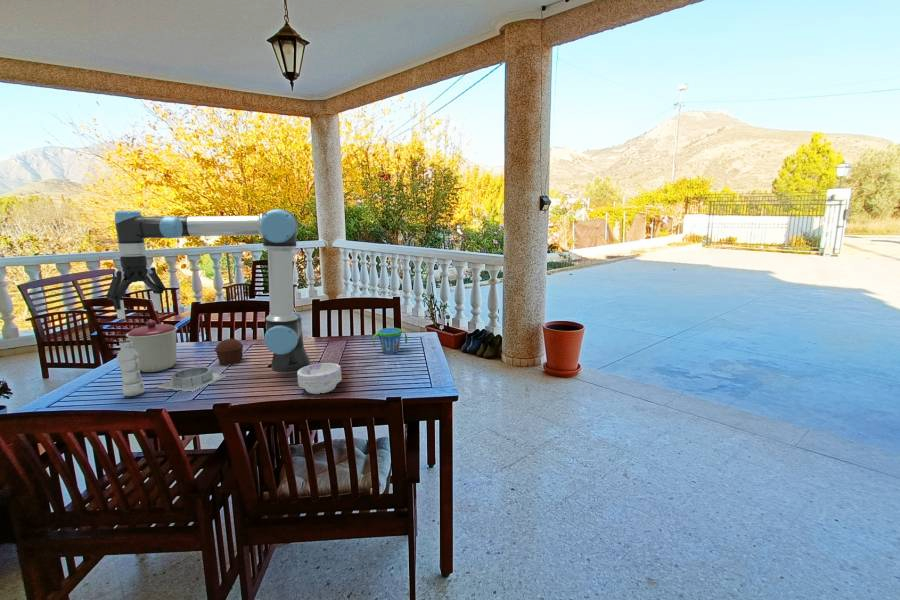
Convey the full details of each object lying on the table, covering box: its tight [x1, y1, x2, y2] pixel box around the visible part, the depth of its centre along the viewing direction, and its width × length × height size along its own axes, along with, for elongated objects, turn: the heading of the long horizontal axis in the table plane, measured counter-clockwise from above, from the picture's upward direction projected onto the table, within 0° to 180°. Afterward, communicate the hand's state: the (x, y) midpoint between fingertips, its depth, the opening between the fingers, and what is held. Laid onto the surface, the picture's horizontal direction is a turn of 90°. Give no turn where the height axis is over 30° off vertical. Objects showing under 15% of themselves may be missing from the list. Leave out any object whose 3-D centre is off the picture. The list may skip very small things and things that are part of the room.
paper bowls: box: [296, 362, 342, 395], centre depth 160 cm, size 15×15×8 cm
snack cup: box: [372, 327, 408, 354], centre depth 202 cm, size 16×10×10 cm
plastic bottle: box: [116, 339, 146, 397], centre depth 158 cm, size 6×7×20 cm
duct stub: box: [157, 366, 227, 393], centre depth 170 cm, size 16×16×4 cm
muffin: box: [214, 338, 244, 366], centre depth 194 cm, size 12×11×10 cm
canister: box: [125, 319, 178, 373], centre depth 186 cm, size 18×18×21 cm
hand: (140, 314), depth 159 cm, fingers open, 13 cm apart
